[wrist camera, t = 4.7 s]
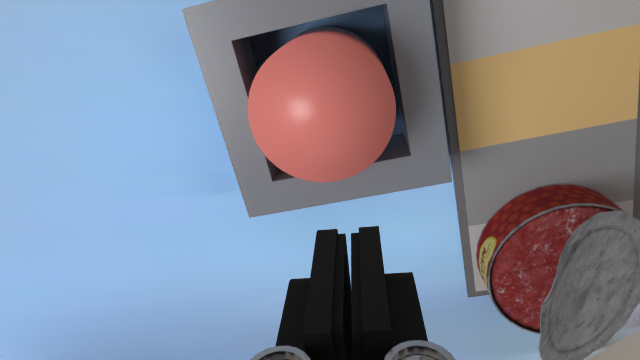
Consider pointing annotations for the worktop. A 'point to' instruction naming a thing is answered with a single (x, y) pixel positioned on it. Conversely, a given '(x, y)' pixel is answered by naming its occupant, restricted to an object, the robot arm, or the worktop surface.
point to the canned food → (562, 267)
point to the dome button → (322, 106)
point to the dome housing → (240, 70)
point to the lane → (538, 103)
